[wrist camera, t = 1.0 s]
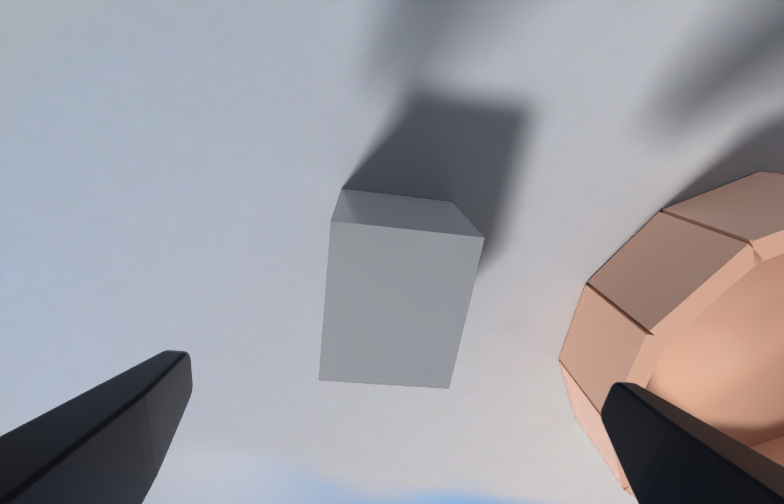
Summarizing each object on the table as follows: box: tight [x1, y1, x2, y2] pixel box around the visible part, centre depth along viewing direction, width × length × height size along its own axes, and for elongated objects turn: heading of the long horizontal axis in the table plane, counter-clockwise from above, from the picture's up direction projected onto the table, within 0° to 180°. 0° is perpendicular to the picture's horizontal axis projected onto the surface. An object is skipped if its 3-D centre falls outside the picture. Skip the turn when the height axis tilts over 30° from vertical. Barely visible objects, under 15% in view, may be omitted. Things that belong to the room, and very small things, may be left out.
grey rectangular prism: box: [319, 189, 485, 389], centre depth 12 cm, size 4×5×4 cm
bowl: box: [559, 171, 784, 497], centre depth 15 cm, size 14×14×4 cm
